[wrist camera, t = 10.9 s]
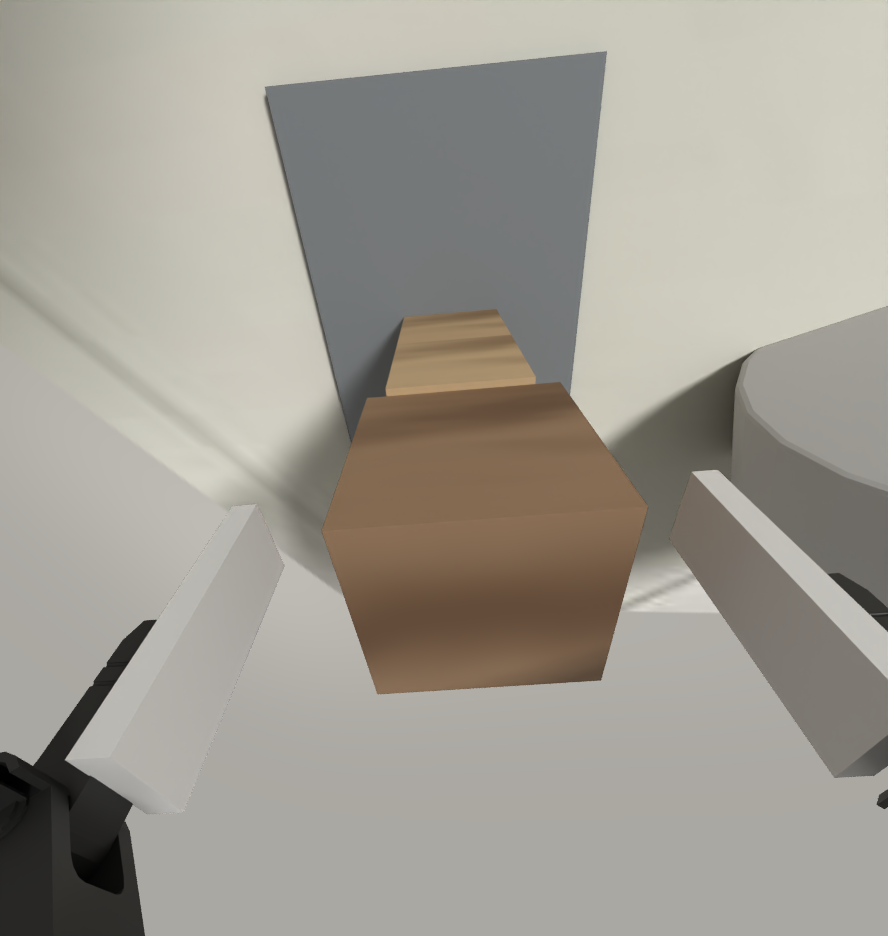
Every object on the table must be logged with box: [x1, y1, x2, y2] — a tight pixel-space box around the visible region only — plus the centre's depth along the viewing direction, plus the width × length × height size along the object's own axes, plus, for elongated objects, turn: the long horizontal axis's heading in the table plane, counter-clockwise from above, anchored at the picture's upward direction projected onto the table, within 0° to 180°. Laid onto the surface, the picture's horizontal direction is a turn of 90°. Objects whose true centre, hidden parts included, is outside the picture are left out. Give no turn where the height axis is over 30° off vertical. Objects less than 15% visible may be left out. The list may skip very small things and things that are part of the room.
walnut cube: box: [322, 382, 648, 694], centre depth 12 cm, size 6×6×6 cm
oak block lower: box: [397, 309, 511, 344], centre depth 21 cm, size 7×5×5 cm
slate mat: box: [265, 51, 607, 443], centre depth 22 cm, size 22×14×1 cm, turn 4°
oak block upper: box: [386, 335, 536, 396], centre depth 17 cm, size 7×5×5 cm
